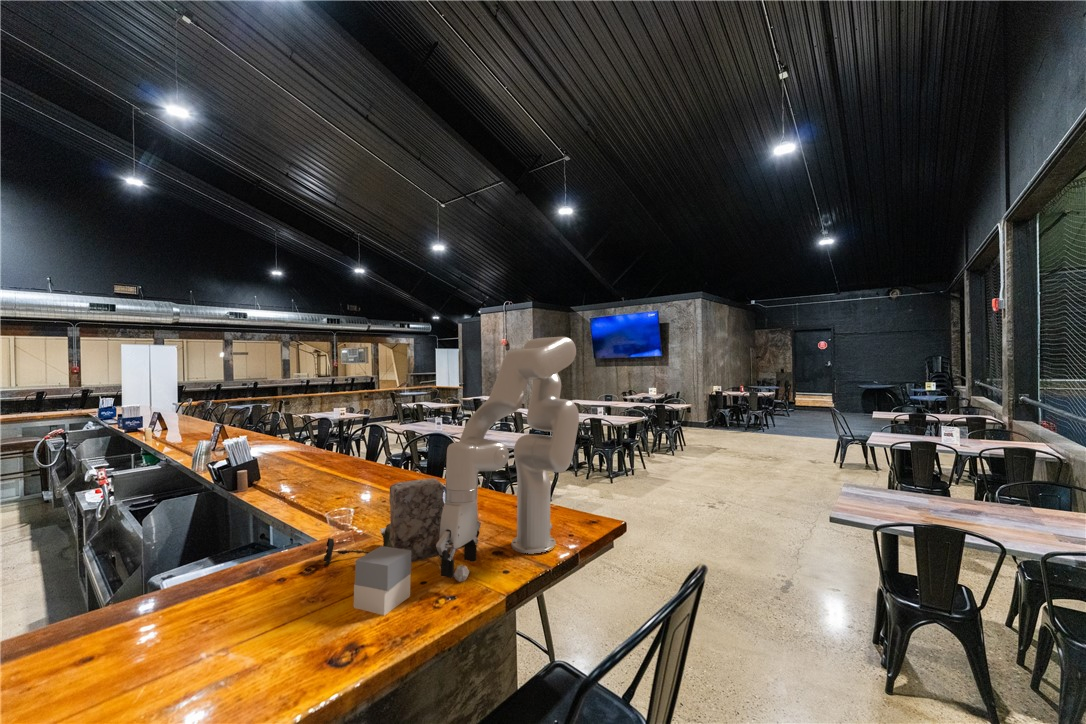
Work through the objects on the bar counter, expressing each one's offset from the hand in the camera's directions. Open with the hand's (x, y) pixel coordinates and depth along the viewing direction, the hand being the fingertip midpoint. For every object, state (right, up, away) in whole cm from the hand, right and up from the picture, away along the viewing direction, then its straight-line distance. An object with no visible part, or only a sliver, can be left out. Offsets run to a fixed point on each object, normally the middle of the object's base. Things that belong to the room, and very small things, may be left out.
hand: (459, 568), depth 100 cm
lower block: (-14, -3, -10) cm, 18 cm away
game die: (0, -3, 0) cm, 3 cm away
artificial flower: (-28, -4, +16) cm, 32 cm away
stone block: (-14, -4, +13) cm, 19 cm away
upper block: (-14, +2, -9) cm, 17 cm away
